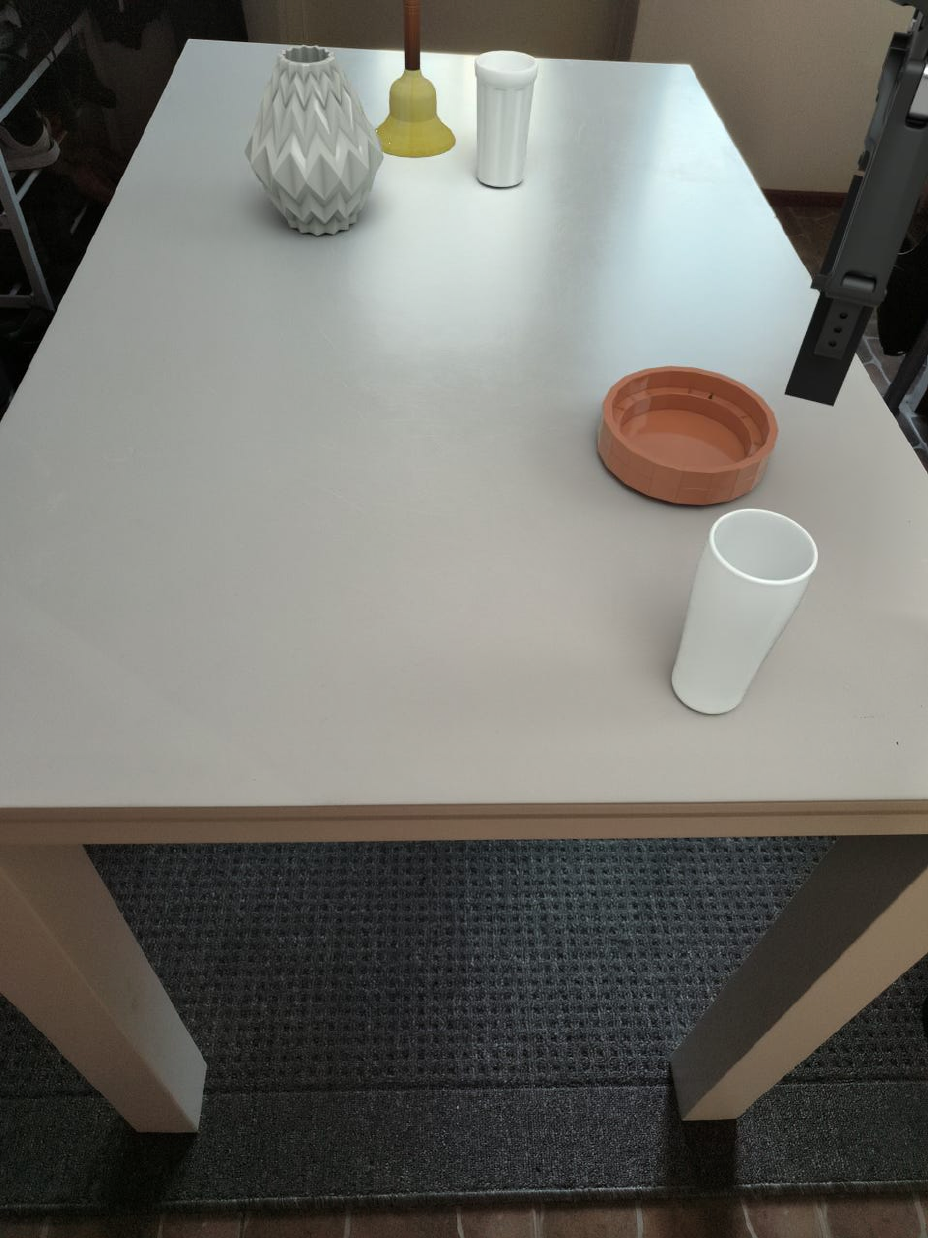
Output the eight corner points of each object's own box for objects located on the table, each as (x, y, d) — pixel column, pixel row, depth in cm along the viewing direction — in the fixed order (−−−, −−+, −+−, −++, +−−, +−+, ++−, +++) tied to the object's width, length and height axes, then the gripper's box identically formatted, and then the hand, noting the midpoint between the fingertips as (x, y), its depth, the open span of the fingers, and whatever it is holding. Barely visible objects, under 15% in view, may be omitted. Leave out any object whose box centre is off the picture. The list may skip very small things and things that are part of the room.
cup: (506, 198, 117) (514, 77, 106) (458, 180, 120) (461, 61, 109) (541, 178, 121) (552, 60, 111) (493, 161, 124) (499, 45, 114)
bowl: (775, 429, 87) (790, 390, 83) (747, 531, 77) (761, 491, 74) (621, 389, 90) (628, 350, 87) (575, 482, 80) (582, 443, 77)
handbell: (353, 135, 129) (340, -80, 110) (420, 115, 134) (418, -93, 115) (405, 164, 123) (401, -57, 104) (473, 143, 128) (481, -72, 109)
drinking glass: (732, 741, 63) (800, 601, 51) (645, 699, 65) (691, 555, 54) (764, 677, 67) (834, 532, 55) (680, 639, 69) (731, 492, 57)
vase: (228, 225, 110) (199, 56, 96) (317, 180, 119) (302, 20, 105) (327, 266, 104) (312, 93, 90) (413, 216, 113) (411, 51, 99)
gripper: (920, -167, 46) (793, 233, 62) (876, -55, 31) (722, 437, 47) (1076, -151, 44) (904, 256, 61) (1111, -24, 29) (868, 475, 45)
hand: (824, 336), depth 54 cm, fingers open, 13 cm apart
